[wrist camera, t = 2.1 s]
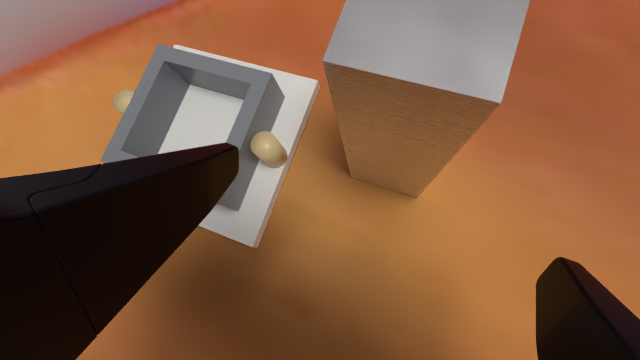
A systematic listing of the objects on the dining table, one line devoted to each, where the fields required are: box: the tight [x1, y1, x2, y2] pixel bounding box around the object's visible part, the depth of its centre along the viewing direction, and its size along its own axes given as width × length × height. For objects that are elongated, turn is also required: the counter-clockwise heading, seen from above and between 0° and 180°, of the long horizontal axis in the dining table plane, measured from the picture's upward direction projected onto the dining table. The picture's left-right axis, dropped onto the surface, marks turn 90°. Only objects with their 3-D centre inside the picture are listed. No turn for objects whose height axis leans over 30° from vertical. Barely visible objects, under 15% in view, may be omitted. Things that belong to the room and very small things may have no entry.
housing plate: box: [101, 44, 320, 248], centre depth 21 cm, size 12×12×4 cm
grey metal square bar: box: [323, 0, 530, 198], centre depth 14 cm, size 4×4×13 cm
